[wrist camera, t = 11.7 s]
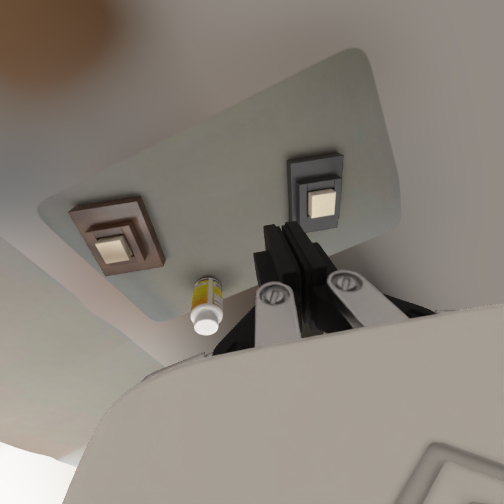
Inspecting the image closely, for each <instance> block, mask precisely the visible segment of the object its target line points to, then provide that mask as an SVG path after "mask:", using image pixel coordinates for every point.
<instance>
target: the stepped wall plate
mask: <svg viewBox="0 0 504 504" xmlns="http://www.w3.org/2000/svg"><path fill="white" fill-rule="evenodd" d="M343 157H344V155H342V154H339V153H332V154H325V155H319V156H312V157H306V158H299V159H293V160H287V174H288V201H289V222H290V221H296V220H297V221H298V223H299V224H300V226H301V227H302V229H303V230H304V232H305V233H307V232H313V231H319V230H325V229H331V228H337V226H338V218H339V211H340V200H341V189H342V169H343ZM325 189H333V190H334V191H335V192H336V199H335V212H334V215H329V216H323V217H317V218H311V217H310V216H309V215H308V192H312V191H319V190H325Z"/></svg>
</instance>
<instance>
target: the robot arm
mask: <svg viewBox="0 0 504 504" xmlns="http://www.w3.org/2000/svg"><path fill="white" fill-rule="evenodd" d="M264 238H265V248H266V251H262V252H256V253H253V255H254V262H255V269H256V275H257V280H258V285H259V288H258V290H257V292H256V305H255V306H254V307H253V308H252V309H251V310H250V311H249V313H247V315H245V317H244V318H243V319H242V320H241V321H240V322H239V323H238V324H237V325H236V326H235V327H234V328H233V329H232V330H231V331H230V332H229V333H228V334H227V335H226V336H225V337H224V338H223V340H222V341H221V342H220V343H219V344H218V345H217V346H216V348H215V349H214V352H211V353H209V354H206V355H205V352H203V353H201V354H198V355H196V356H193V357H191V358H189V359H186V360H183V361H181V362H178V363H176V364H173V365H171V366H168V367H166V368H163V369H161V370H158V371H156V372H153V373H151V374H150V375H148V376H146V377H145V378H144V379H143V380H142V381H141V382H140V383H139V384H137V385H136V386H134V387H133V388H131V389H130V390H129V391H127V392H126V393H125V394H123V395H122V396H121V397H120V398H119V399H118V400H117V401H115V402H114V403H113V404H112V406H111V407H110V408H109V409H108V411H107V412H106V413H105V415H104V416H103V418H102V419H101V421H100V422H99V424H98V426H97V428H96V429H95V431H94V433H93V435H92V437H91V439H90V441H89V443H88V445H87V447H86V449H85V451H84V453H83V456H82V458H81V460H80V462H79V465H78V467H77V469H76V472H75V474H74V477H73V479H72V481H71V484H70V486H69V488H68V491H67V493H66V496H65V498H64V501H63V503H62V504H504V304H497V305H489V306H482V307H476V308H470V309H464V310H435V313H434V312H433V311H431V310H429V309H427V308H424V307H422V306H418V305H416V304H413V303H409V302H406V301H403V300H400V299H397V298H394V297H391V296H388V295H385V294H382V293H381V292H380V291H379V290H377V289H376V288H375V287H374V286H373V285H372V284H370V282H368V281H367V280H366V279H365V278H364V277H363V276H362V275H360V274H359V273H356V272H354V271H350V270H337V269H336V267H335V266H334V264H333V263H332V261H331V260H330V259H329V257H328V256H327V254H326V253H325V252H324V250H323V249H322V247H321V246H320V245H319V244H318V243H317V242H316V243H312V242H311V241H310V239H309V238H308V236H307V235H306V233H305V232H304V230H303V229H302V227H301V226H300V224H299V223H298V221H297V220H296V221H290V222H286V223H285V225H283V226H282V231H281V229H280V227H279V226H277V227H276V226H275V224H272V225H266V226H264ZM302 319H303V321H304V323H305V324H307V323H308V324H309V326H310V328H311V330H316V329H319V330H321V331H323V335H318V336H313V337H308V338H302V339H301V334H300V333H301V331H302Z"/></svg>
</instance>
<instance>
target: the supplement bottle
mask: <svg viewBox="0 0 504 504" xmlns="http://www.w3.org/2000/svg"><path fill="white" fill-rule="evenodd" d="M222 304H223V303H222V286H221V284H220V282H219V281H218V280H216V279H214V278H202V279H200V280H198V281H197V282H196V284H195V285H194V290H193V298H192V307H191V320H192V322H193V323H194V329H195V331H196V332H197V333H198V334H201V335H211V334H213V333H215V332H216V331H217V330H218V324H219V323H220V322H221V320H222V318H223V305H222Z"/></svg>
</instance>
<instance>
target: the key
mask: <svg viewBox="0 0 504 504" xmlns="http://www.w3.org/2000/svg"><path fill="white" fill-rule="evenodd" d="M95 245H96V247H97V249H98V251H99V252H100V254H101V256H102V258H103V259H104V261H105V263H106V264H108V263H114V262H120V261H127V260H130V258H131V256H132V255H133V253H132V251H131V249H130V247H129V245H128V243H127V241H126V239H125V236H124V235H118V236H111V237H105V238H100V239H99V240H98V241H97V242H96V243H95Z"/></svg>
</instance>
